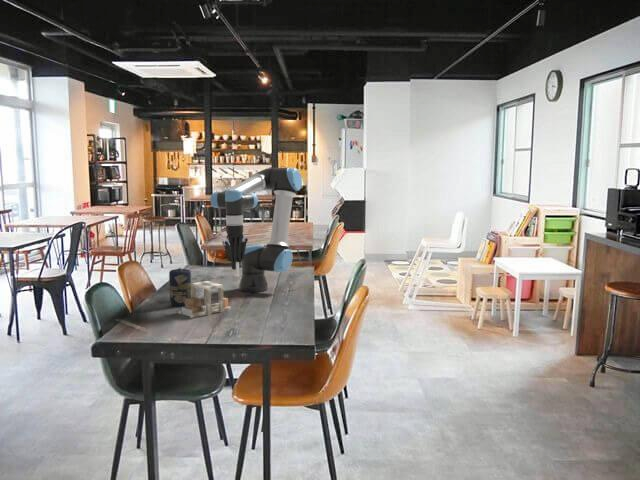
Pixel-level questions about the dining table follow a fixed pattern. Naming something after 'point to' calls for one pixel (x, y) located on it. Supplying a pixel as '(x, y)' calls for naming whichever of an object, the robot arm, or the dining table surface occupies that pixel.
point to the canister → (179, 286)
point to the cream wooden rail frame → (208, 297)
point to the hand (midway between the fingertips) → (236, 275)
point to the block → (193, 304)
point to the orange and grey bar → (203, 308)
